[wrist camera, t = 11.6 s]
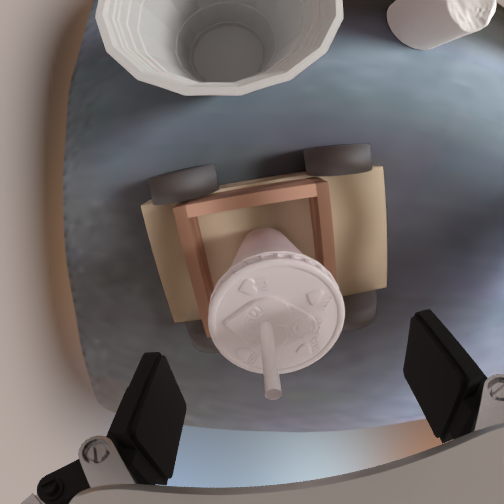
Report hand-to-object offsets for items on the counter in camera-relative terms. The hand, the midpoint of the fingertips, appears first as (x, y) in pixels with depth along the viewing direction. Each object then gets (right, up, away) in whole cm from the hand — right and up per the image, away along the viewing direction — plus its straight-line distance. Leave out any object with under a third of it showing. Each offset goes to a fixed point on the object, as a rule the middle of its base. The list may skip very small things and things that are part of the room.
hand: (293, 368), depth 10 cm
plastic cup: (-3, +19, +9) cm, 22 cm away
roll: (+13, +25, +8) cm, 29 cm away
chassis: (0, +5, +14) cm, 15 cm away
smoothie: (-1, +4, +12) cm, 13 cm away
